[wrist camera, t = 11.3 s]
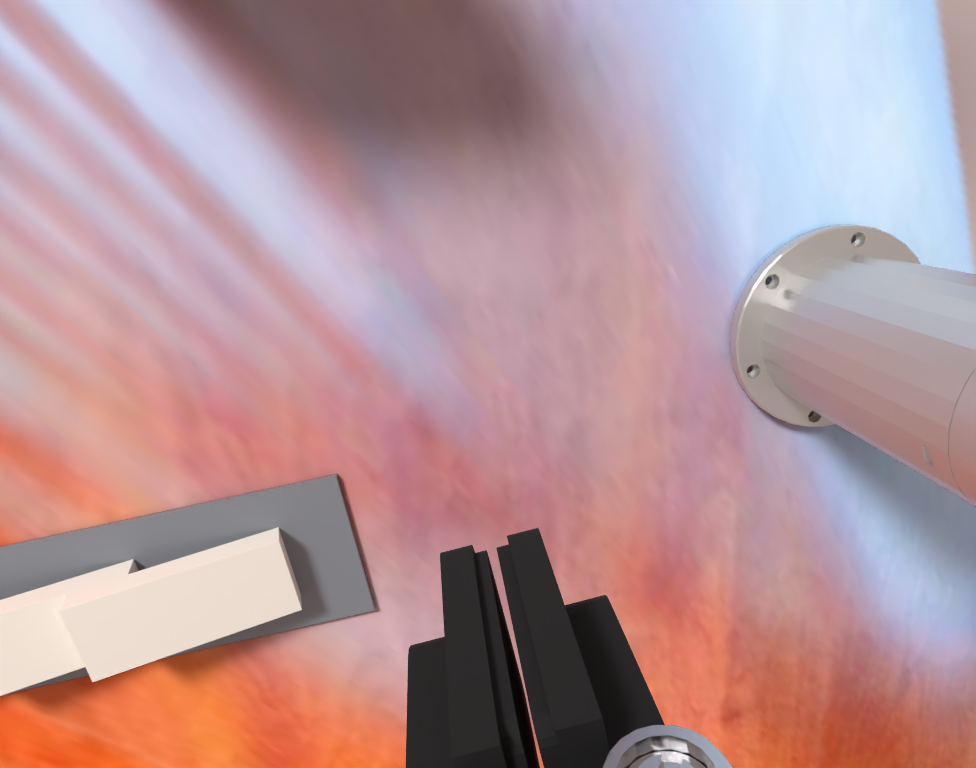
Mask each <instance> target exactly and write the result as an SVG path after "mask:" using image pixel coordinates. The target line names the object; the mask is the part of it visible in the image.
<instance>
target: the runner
mask: <svg viewBox="0 0 976 768" xmlns="http://www.w3.org/2000/svg"><path fill="white" fill-rule="evenodd" d="M277 527H279V530H280V533H281V536H282V539H283V542H284V545H285V548H286V551H287V554H288V557H289V560H290V563H291V566H292V569H293V572H294V575H295V578H296V582H297V585H298V588H299V591H300V594H301V605H302V610H300V611H297V612H294V613H291V614H288V615H285V616H283V617H280V618H277V619H274V620H271V621H268V622H265V623H262V624H259V625H257V626H254V627H251V628H248V629H245V630H242V631H239V632H236V633H233V634H231V635H228V636H225V637H222V638H219V639H216V640H213V641H210V642H208V643H205V644H202V645H199V646H196V647H193V648H190V649H187V650H184V651H182V652H179V653H176V654H173V655H170V656H167V657H164V658H168V657H173V656H177V655H182V654H186V653H190V652H195V651H199V650H204V649H208V648H212V647H217V646H221V645H226V644H230V643H234V642H239V641H243V640H248V639H252V638H256V637H261V636H265V635H270V634H274V633H278V632H283V631H287V630H292V629H296V628H300V627H305V626H309V625H313V624H318V623H322V622H327V621H331V620H335V619H340V618H344V617H349V616H353V615H357V614H362V613H366V612H371V611H375V605H374V601H373V598H372V594H371V591H370V587H369V584H368V580H367V577H366V573H365V570H364V567H363V563H362V560H361V556H360V553H359V549H358V546H357V542H356V539H355V535H354V532H353V528H352V525H351V521H350V518H349V514H348V511H347V508H346V504H345V501H344V497H343V494H342V490H341V487H340V483H339V480H338V476H337V474H335V475H330V476H325V477H321V478H316V479H311V480H307V481H302V482H298V483H293V484H288V485H284V486H279V487H274V488H270V489H265V490H261V491H256V492H251V493H247V494H242V495H237V496H233V497H228V498H224V499H219V500H214V501H210V502H205V503H200V504H196V505H191V506H186V507H182V508H177V509H173V510H168V511H163V512H159V513H154V514H149V515H145V516H140V517H136V518H131V519H126V520H122V521H117V522H112V523H108V524H103V525H99V526H94V527H89V528H85V529H80V530H75V531H71V532H66V533H62V534H57V535H52V536H48V537H43V538H38V539H34V540H29V541H25V542H20V543H15V544H11V545H6V546H1V547H0V600H2V599H5V598H9V597H12V596H15V595H18V594H22V593H25V592H28V591H31V590H35V589H38V588H41V587H44V586H48V585H51V584H54V583H57V582H61V581H64V580H67V579H70V578H74V577H77V576H80V575H83V574H86V573H90V572H93V571H96V570H99V569H103V568H106V567H109V566H112V565H116V564H119V563H122V562H125V561H129V560H132V559H134V561H135V563H136V566H137V568H138V570H139V571H140V570H144V569H147V568H150V567H153V566H156V565H160V564H163V563H166V562H169V561H172V560H175V559H179V558H182V557H185V556H188V555H191V554H195V553H198V552H201V551H204V550H207V549H211V548H214V547H217V546H220V545H223V544H226V543H230V542H233V541H236V540H239V539H242V538H246V537H249V536H252V535H255V534H258V533H262V532H265V531H268V530H271V529H274V528H277ZM164 658H161V659H164ZM158 660H160V659H158ZM85 676H89V674H88V672H87V669H86V667H84V668H81V669H78V670H75V671H72V672H69V673H66V674H63V675H60V676H57V677H54V678H51V679H48V680H46V681H43V682H40V683H37V684H34V685H31V686H28V687H25V688H22V689H19V690H16V691H13V692H10V693H15V692H19V691H23V690H28V689H32V688H37V687H41V686H45V685H50V684H54V683H59V682H63V681H67V680H72V679H76V678H81V677H85ZM10 693H7V694H10ZM4 695H6V694H4ZM1 696H2V695H1Z"/></svg>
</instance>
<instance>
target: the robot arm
mask: <svg viewBox="0 0 976 768" xmlns="http://www.w3.org/2000/svg"><path fill="white" fill-rule="evenodd" d="M767 277H768V280H767V282H766V283H765V281H766V279H767ZM730 354H731V359H732V364H733V369H734V372H735V374H736V376H737V379H738V381H739V384H740V385H741V387H742V388H743V390H744V391H745V392H746V394H747V395H748V397H749V398H750V399H751V400H752V401H753V402H755V403H756V404H757V405H758V406H759V407H760V408H761V409H763V410H764V411H766V412H767V413H769V414H771V415H772V416H774V417H775V418H777V419H780V420H782V421H785V422H787V423H789V424H794V425H799V426H805V427H825V426H830V425H835V424H837V425H838V426H840V427H842V428H843V429H845V430H847V431H848V432H850V433H852V434H853V435H855V436H857V437H859V438H860V439H862V440H864V441H865V442H867V443H869V444H870V445H872V446H874V447H875V448H877V449H879V450H881V451H882V452H884V453H886V454H887V455H889V456H891V457H892V458H894V459H896V460H897V461H899V462H901V463H903V464H904V465H906V466H908V467H909V468H911V469H913V470H914V471H916V472H918V473H919V474H921V475H923V476H924V477H926V478H928V479H930V480H931V481H933V482H935V483H936V484H938V485H940V486H941V487H943V488H945V489H946V490H948V491H950V492H952V493H953V494H955V495H957V496H958V497H960V498H962V499H963V500H965V501H967V502H968V503H970V504H972V505H974V506H975V507H976V274H970V273H965V272H959V271H954V270H948V269H943V268H937V267H932V266H926V265H921V263H920V262H919V260H918V258H917V257H916V255H915V254H914V253H913V252H912V251H911V250H910V249H909V248H908V247H907V245H906V244H904V243H903V242H901V241H900V240H898V239H897V238H896V237H894V236H893V235H891V234H889V233H886V232H883V231H881V230H878V229H875V228H871V227H864V226H858V225H833V226H828V227H822V228H817V229H815V230H812V231H810V232H807V233H804V234H802V235H799V236H798V237H796V238H794V239H793V240H791V241H789V242H788V243H786V244H784V245H783V246H781V247H780V248H779V249H778V250H777V251H775V252H774V253H773V254H772V255H771V256H770V257H768V258H767V259H766V260H765V261H764V262H763V264H762V265H761V266H760V267H759V268H758V270H757V271H756V272H755V273H754V274H753V276H752V277H751V279H750V280H749V282H748V284H747V285H746V287H745V289H744V290H743V292H742V294H741V296H740V299H739V301H738V304H737V307H736V309H735V312H734V316H733V321H732V326H731V331H730ZM748 367H749V369H748ZM747 369H748V370H747ZM507 538H508V542H509V545H505V546H501V547H498V548H497V552H498V557H499V562H500V567H501V571H502V576H503V581H504V586H505V591H506V595H507V600H508V605H509V610H510V615H511V619H512V624H513V629H514V634H515V639H516V643H517V648H518V653H519V658H520V663H521V667H522V672H523V677H524V682H525V687H526V691H527V696H528V701H529V706H530V711H531V715H532V720H533V724H534V729H535V733H536V737H537V741H538V745H539V750H540V753H541V757H542V761H543V765H544V768H733V767H732V766H731V765H730V763H729V762H728V761H727V759H726V758H725V756H724V755H723V754H722V753H721V752H720V751H719V750H718V749H717V748H716V747H715V746H714V745H713V744H712V743H711V742H710V741H709V740H708V739H706V738H705V737H703V736H701V735H699V734H698V733H696V732H694V731H693V730H689V729H686V728H682V727H678V726H675V725H665V724H664V722H663V720H662V718H661V715H660V713H659V711H658V709H657V706H656V704H655V702H654V700H653V697H652V695H651V693H650V691H649V689H648V686H647V684H646V682H645V680H644V677H643V675H642V673H641V671H640V668H639V666H638V664H637V662H636V659H635V657H634V655H633V653H632V650H631V648H630V646H629V644H628V641H627V639H626V637H625V635H624V632H623V630H622V628H621V626H620V623H619V621H618V619H617V617H616V615H615V612H614V610H613V608H612V606H611V603H610V601H609V599H608V597H607V596H606V595H603V596H599V597H596V598H592V599H588V600H584V601H580V602H576V603H573V604H569V605H564V602H563V599H562V596H561V593H560V590H559V587H558V584H557V582H556V579H555V576H554V573H553V570H552V567H551V564H550V561H549V558H548V555H547V552H546V549H545V546H544V543H543V540H542V537H541V534H540V531H539V529H538V528H536V529H532V530H528V531H524V532H520V533H516V534H513V535H509V536H507ZM440 563H441V580H442V598H443V616H444V633H445V637H442V638H438V639H434V640H430V641H426V642H423V643H419V644H415V645H411V646H410V648H409V654H408V692H407V740H406V768H540V766H539V762H538V757H537V752H536V747H535V742H534V737H533V732H532V727H531V722H530V717H529V713H528V708H527V703H526V698H525V693H524V689H523V685H522V681H521V677H520V673H519V669H518V665H517V662H516V658H515V654H514V650H513V647H512V643H511V639H510V635H509V632H508V628H507V624H506V620H505V617H504V613H503V609H502V605H501V602H500V598H499V594H498V590H497V587H496V583H495V579H494V575H493V571H492V568H491V564H490V560H489V557H488V553H487V550H486V551H482V552H478V553H475V552H474V548H473V546H472V545H470V546H466V547H462V548H458V549H454V550H450V551H446V552H443V553H440Z"/></svg>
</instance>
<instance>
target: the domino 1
mask: <svg viewBox="0 0 976 768" xmlns="http://www.w3.org/2000/svg"><path fill="white" fill-rule="evenodd" d="M137 571H139V570H138V568H137V566H136V563H135V561H134V559H132V560H129V561H125V562H122V563H119V564H116V565H112V566H109V567H106V568H103V569H99V570H96V571H93V572H90V573H86V574H83V575H80V576H77V577H74V578H70V579H67V580H64V581H61V582H57V583H54V584H51V585H48V586H44V587H41V588H38V589H35V590H31V591H28V592H25V593H22V594H18V595H15V596H12V597H9V598H5V599H2V600H0V696H1V695H4V694H7V693H10V692H13V691H16V690H19V689H22V688H25V687H28V686H31V685H34V684H37V683H40V682H43V681H46V680H48V679H51V678H54V677H57V676H60V675H63V674H66V673H69V672H72V671H75V670H78V669H81V668H84V667H85V665H84V663H83V661H82V659H81V657H80V655H79V653H78V651H77V649H76V647H75V645H74V642H73V640H72V638H71V636H70V634H69V632H68V630H67V628H66V626H65V624H64V622H63V620H62V618H61V615H60V613H59V609H60V607H61V606H62V604H63V602H64V600H65V598H66V596H67V594H68V593H70V592H73V591H77V590H80V589H83V588H86V587H89V586H93V585H96V584H99V583H102V582H105V581H108V580H112V579H115V578H118V577H121V576H124V575H128V574H131V573H134V572H137Z"/></svg>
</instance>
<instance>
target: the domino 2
mask: <svg viewBox="0 0 976 768" xmlns="http://www.w3.org/2000/svg"><path fill="white" fill-rule="evenodd" d="M300 610H302V605H301V594H300V591H299V588H298V585H297V582H296V578H295V575H294V572H293V569H292V566H291V563H290V560H289V557H288V554H287V551H286V548H285V545H284V542H283V539H282V536H281V533H280V530H279V527H277V528H274V529H271V530H268V531H265V532H262V533H258V534H255V535H252V536H249V537H246V538H242V539H239V540H236V541H233V542H230V543H226V544H223V545H220V546H217V547H214V548H211V549H207V550H204V551H201V552H198V553H195V554H191V555H188V556H185V557H182V558H179V559H175V560H172V561H169V562H166V563H163V564H160V565H156V566H153V567H150V568H147V569H144V570H140V571H137V572H134V573H131V574H128V575H124V576H121V577H118V578H115V579H112V580H108V581H105V582H102V583H99V584H96V585H93V586H89V587H86V588H83V589H80V590H77V591H73V592H70V593H68V594H67V596H66V598H65V600H64V602H63V604H62V606H61V607H60V609H59V613H60V615H61V618H62V620H63V622H64V624H65V626H66V628H67V630H68V632H69V634H70V636H71V638H72V640H73V642H74V645H75V647H76V649H77V651H78V653H79V655H80V657H81V659H82V661H83V663H84V665H85V667H86V669H87V672H88V674H89V676H90V678H91V680H92V682H95V681H98V680H101V679H104V678H107V677H109V676H112V675H115V674H118V673H121V672H124V671H127V670H130V669H133V668H135V667H138V666H141V665H144V664H147V663H150V662H153V661H156V660H158V659H161V658H164V657H167V656H170V655H173V654H176V653H179V652H182V651H184V650H187V649H190V648H193V647H196V646H199V645H202V644H205V643H208V642H210V641H213V640H216V639H219V638H222V637H225V636H228V635H231V634H233V633H236V632H239V631H242V630H245V629H248V628H251V627H254V626H257V625H259V624H262V623H265V622H268V621H271V620H274V619H277V618H280V617H283V616H285V615H288V614H291V613H294V612H297V611H300Z"/></svg>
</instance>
